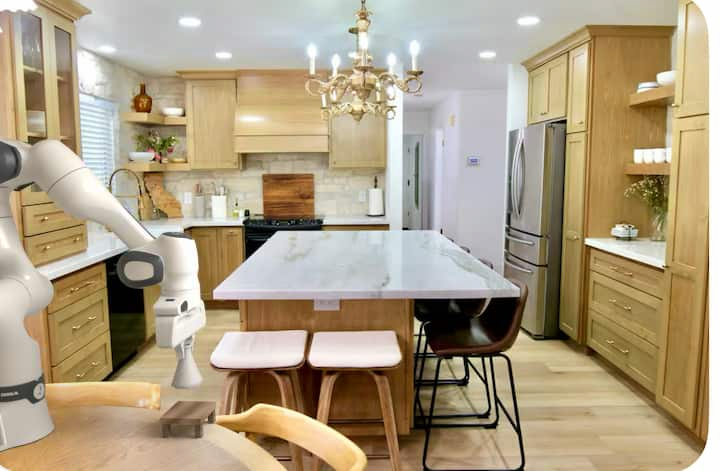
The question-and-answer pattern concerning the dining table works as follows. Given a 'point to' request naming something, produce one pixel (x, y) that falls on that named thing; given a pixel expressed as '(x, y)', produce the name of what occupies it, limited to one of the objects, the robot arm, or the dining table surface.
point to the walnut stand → (188, 416)
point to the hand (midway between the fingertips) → (185, 355)
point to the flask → (187, 371)
